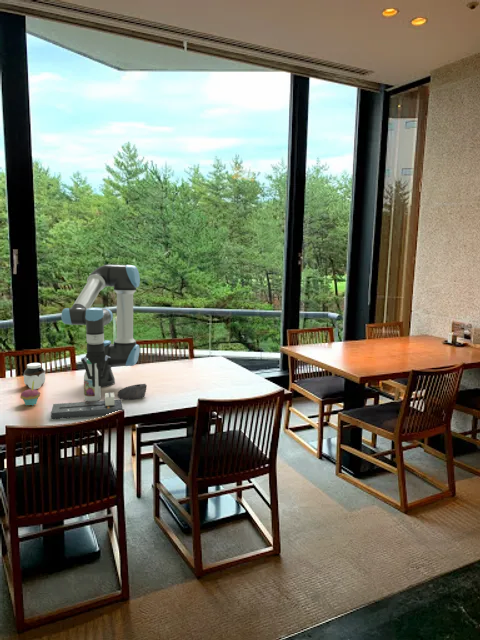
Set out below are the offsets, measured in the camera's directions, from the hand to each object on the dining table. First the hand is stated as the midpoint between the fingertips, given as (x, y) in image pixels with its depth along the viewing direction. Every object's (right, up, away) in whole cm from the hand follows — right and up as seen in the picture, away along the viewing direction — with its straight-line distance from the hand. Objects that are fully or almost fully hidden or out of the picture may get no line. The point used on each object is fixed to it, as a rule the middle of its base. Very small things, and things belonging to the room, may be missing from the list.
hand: (97, 393), depth 218 cm
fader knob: (+5, -5, +2) cm, 8 cm away
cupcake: (-34, -7, +8) cm, 36 cm away
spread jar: (-43, -2, +35) cm, 56 cm away
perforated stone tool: (+12, -6, +20) cm, 24 cm away
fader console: (-4, -9, 0) cm, 10 cm away
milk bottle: (-7, -6, +17) cm, 20 cm away
